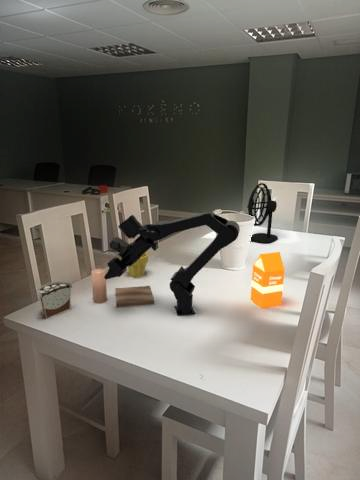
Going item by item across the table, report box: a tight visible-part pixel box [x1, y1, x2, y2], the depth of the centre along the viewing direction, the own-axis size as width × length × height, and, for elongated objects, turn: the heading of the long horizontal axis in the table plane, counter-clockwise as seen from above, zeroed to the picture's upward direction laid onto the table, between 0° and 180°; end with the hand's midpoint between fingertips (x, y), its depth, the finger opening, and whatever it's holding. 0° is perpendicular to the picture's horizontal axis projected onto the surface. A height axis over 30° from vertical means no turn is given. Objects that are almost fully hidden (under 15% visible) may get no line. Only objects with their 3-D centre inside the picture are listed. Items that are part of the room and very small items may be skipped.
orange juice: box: [250, 251, 285, 309], centre depth 129 cm, size 8×9×20 cm
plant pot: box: [127, 252, 149, 278], centre depth 157 cm, size 10×10×10 cm
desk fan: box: [246, 182, 279, 244], centre depth 215 cm, size 27×18×35 cm, turn 143°
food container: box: [37, 280, 73, 320], centre depth 122 cm, size 12×6×10 cm, turn 141°
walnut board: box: [114, 285, 155, 308], centre depth 135 cm, size 14×14×2 cm
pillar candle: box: [90, 268, 108, 304], centre depth 131 cm, size 5×5×12 cm
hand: (110, 273), depth 128 cm, fingers open, 9 cm apart
